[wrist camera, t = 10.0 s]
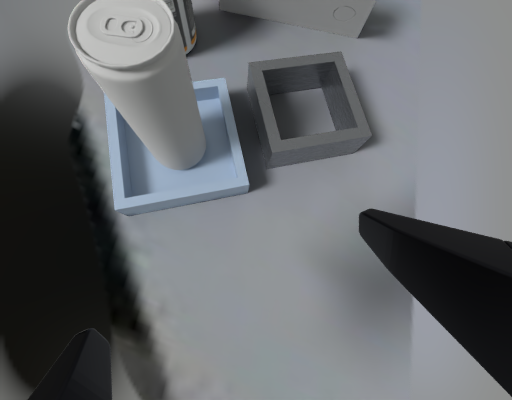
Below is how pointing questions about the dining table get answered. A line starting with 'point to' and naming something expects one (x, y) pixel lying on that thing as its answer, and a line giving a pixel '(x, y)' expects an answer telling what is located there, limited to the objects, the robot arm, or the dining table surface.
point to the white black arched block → (308, 13)
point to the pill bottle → (184, 21)
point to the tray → (177, 181)
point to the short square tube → (301, 78)
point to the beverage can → (142, 73)
